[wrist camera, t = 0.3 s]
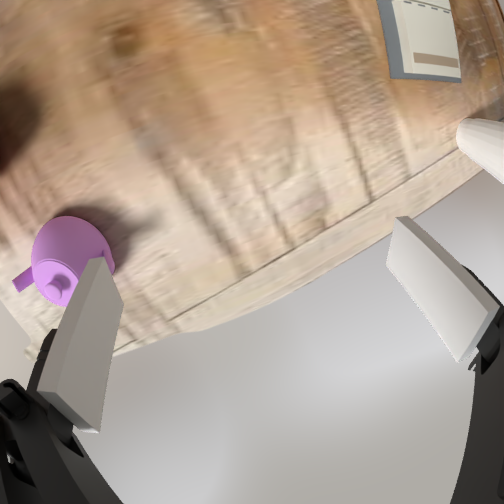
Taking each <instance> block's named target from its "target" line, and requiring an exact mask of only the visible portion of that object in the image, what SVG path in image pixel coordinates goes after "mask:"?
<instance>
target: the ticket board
mask: <svg viewBox="0 0 504 504" xmlns="http://www.w3.org/2000/svg"><path fill="white" fill-rule="evenodd" d="M377 5H378V9H379V13H380V18H381V23H382V27H383V33H384V38H385V44H386V50H387V56H388V63H389V70H390V78H391V79H420V80H435V81H446V82H455V83H461V72H460V62H459V54H458V46H457V40H456V34H455V28H454V23H453V18H452V13H451V10H444V9H441V8H438V7H434V6H430V5H426V4H422V3H418V2H414V1H409V0H377Z"/></svg>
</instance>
